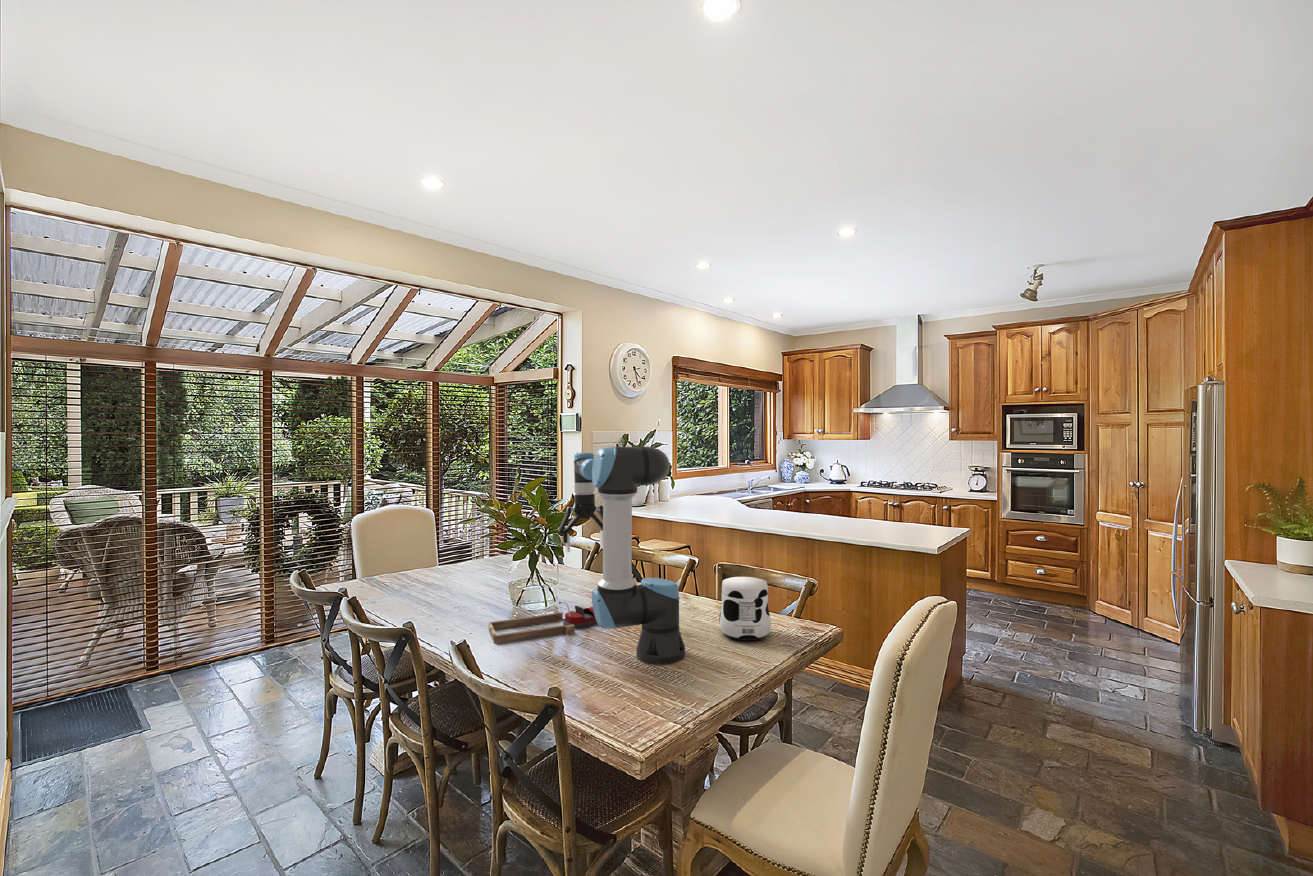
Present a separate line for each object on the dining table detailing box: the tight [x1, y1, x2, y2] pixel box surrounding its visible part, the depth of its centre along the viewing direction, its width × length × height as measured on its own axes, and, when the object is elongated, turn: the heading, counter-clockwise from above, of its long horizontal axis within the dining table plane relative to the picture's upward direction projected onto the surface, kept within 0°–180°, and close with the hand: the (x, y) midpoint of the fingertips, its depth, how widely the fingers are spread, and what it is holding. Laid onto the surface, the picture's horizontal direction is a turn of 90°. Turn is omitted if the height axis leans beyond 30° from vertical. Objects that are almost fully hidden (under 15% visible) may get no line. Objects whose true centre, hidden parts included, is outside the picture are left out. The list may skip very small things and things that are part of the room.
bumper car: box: [558, 601, 598, 630], centre depth 209 cm, size 10×20×10 cm, turn 132°
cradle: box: [488, 611, 576, 645], centre depth 201 cm, size 19×27×2 cm
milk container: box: [718, 576, 772, 641], centre depth 194 cm, size 17×17×18 cm
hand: (585, 550), depth 216 cm, fingers open, 13 cm apart
